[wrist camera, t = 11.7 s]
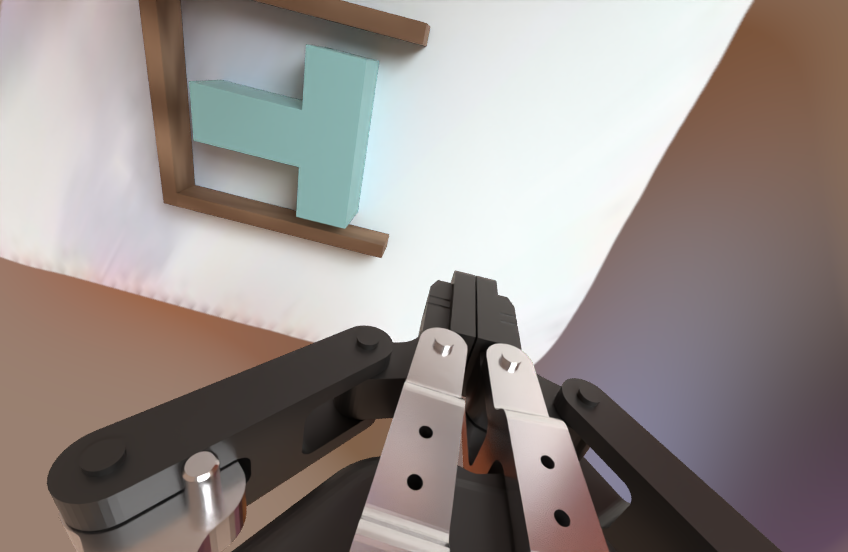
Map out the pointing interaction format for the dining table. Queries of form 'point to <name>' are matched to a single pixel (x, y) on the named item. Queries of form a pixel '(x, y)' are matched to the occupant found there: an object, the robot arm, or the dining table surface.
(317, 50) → the T-block
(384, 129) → the dining table surface
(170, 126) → the bay
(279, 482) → the robot arm
